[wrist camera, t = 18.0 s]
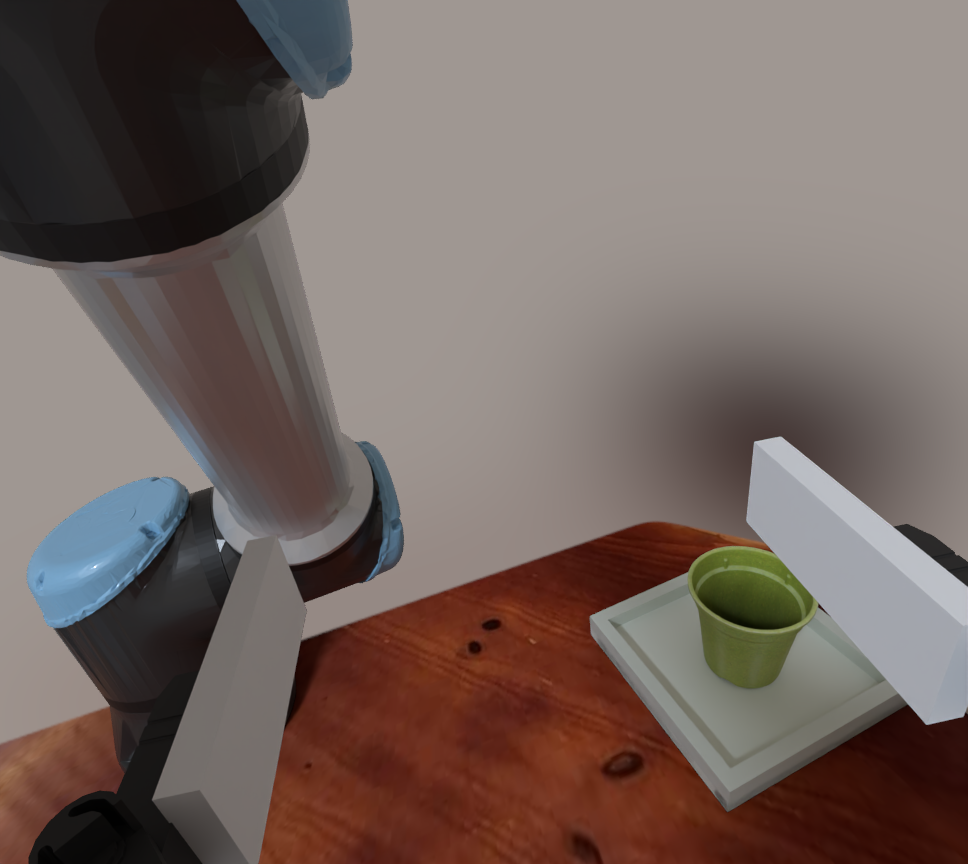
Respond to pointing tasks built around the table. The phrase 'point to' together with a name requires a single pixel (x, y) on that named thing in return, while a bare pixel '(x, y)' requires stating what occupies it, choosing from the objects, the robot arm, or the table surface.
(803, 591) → the plant pot
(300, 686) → the table surface
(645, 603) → the tray
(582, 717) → the table surface
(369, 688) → the table surface
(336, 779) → the table surface
